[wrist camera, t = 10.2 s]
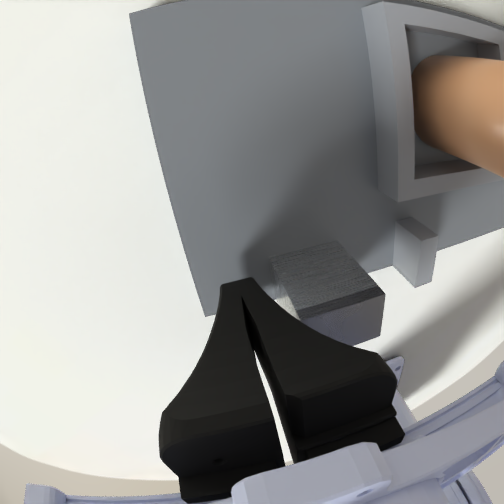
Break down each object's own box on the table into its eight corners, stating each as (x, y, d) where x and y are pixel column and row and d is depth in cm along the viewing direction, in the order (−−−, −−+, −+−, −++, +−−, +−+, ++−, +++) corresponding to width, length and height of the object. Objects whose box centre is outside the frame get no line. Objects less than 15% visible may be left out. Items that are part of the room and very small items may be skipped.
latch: (337, 278, 14) (379, 336, 11) (274, 295, 14) (304, 361, 11) (336, 240, 13) (385, 294, 10) (268, 257, 13) (300, 320, 10)
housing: (528, 207, 17) (558, 225, 15) (202, 300, 15) (210, 348, 12) (534, 44, 11) (570, 50, 8) (134, 20, 9) (118, -2, 6)
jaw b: (473, 142, 12) (571, 186, 7) (411, 156, 12) (523, 212, 7) (467, 56, 10) (576, 75, 5) (400, 55, 10) (527, 64, 5)
